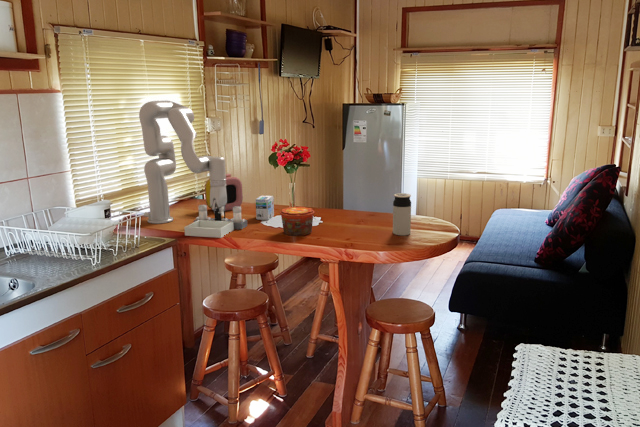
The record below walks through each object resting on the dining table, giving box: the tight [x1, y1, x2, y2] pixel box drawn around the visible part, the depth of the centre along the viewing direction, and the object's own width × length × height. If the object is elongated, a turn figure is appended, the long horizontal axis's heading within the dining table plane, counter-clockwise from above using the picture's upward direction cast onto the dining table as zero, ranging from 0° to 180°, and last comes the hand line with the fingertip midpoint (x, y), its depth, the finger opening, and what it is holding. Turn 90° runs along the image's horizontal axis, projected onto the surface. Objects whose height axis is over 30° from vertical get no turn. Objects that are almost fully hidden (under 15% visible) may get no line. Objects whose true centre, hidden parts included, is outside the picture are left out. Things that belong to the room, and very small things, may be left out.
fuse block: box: [193, 216, 248, 230], centre depth 263 cm, size 25×7×4 cm, turn 76°
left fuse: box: [197, 204, 208, 220], centre depth 265 cm, size 4×4×10 cm
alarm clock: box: [204, 173, 244, 212], centre depth 299 cm, size 18×11×19 cm, turn 132°
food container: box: [279, 206, 315, 237], centre depth 250 cm, size 16×16×11 cm
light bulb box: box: [255, 195, 275, 221], centre depth 279 cm, size 11×7×11 cm, turn 168°
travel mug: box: [392, 192, 412, 236], centre depth 245 cm, size 8×8×18 cm
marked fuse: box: [216, 206, 224, 221], centre depth 262 cm, size 4×4×10 cm
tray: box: [183, 220, 235, 239], centre depth 252 cm, size 18×14×4 cm
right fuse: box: [232, 206, 243, 223], centre depth 260 cm, size 4×4×10 cm
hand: (220, 219), depth 263 cm, fingers closed on marked fuse, 3 cm apart
